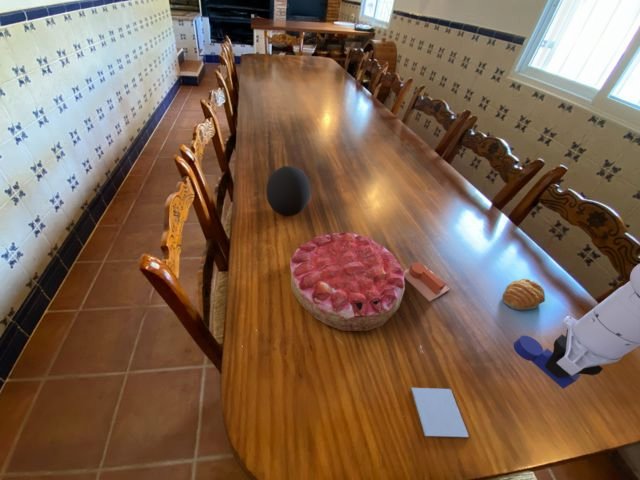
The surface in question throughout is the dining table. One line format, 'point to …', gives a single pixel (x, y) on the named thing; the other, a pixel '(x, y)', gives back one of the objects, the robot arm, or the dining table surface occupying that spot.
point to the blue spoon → (540, 358)
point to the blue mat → (439, 413)
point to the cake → (347, 281)
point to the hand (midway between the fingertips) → (555, 367)
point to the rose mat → (423, 287)
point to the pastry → (523, 294)
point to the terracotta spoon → (426, 277)
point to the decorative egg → (288, 191)
